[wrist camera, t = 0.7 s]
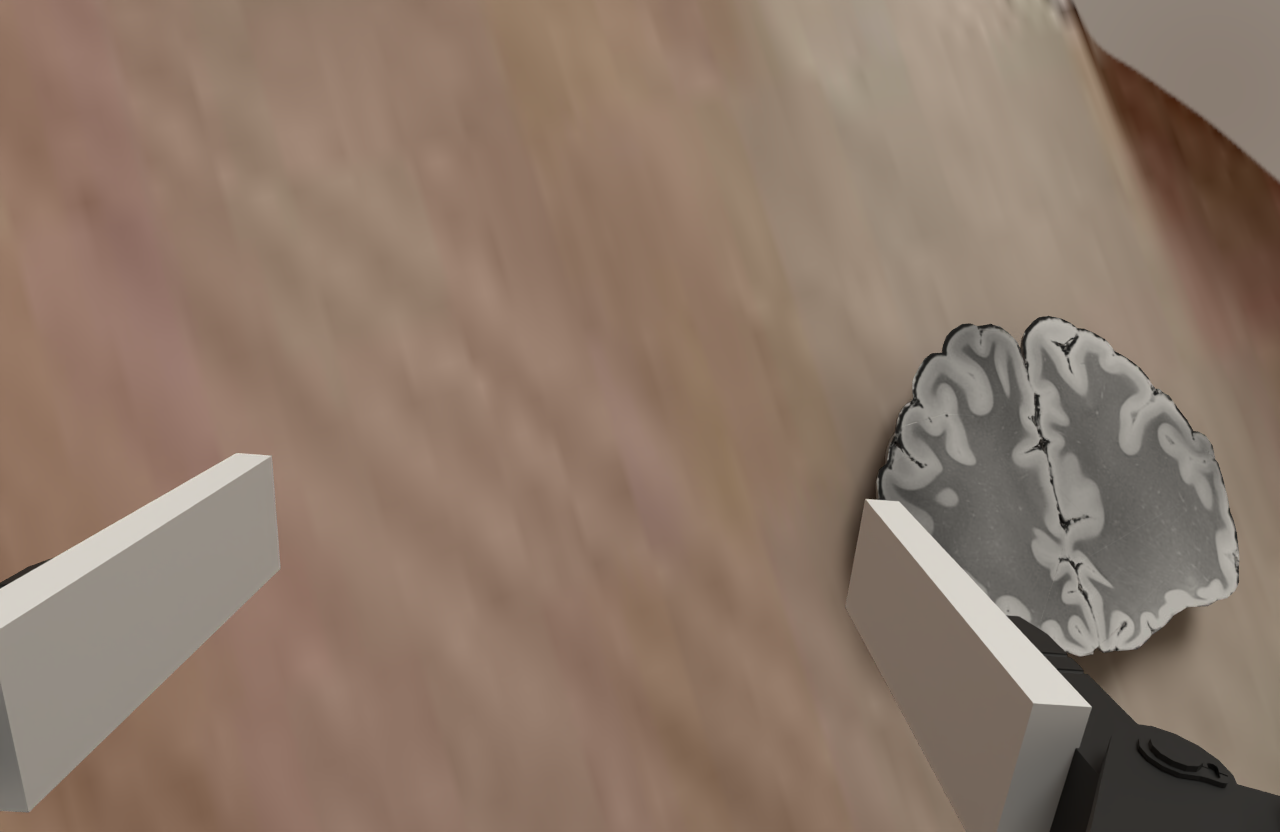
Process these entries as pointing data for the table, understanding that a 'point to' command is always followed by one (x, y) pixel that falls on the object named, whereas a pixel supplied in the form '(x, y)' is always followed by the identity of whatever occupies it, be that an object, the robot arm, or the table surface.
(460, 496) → the table surface
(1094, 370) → the brain slice
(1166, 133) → the table surface
